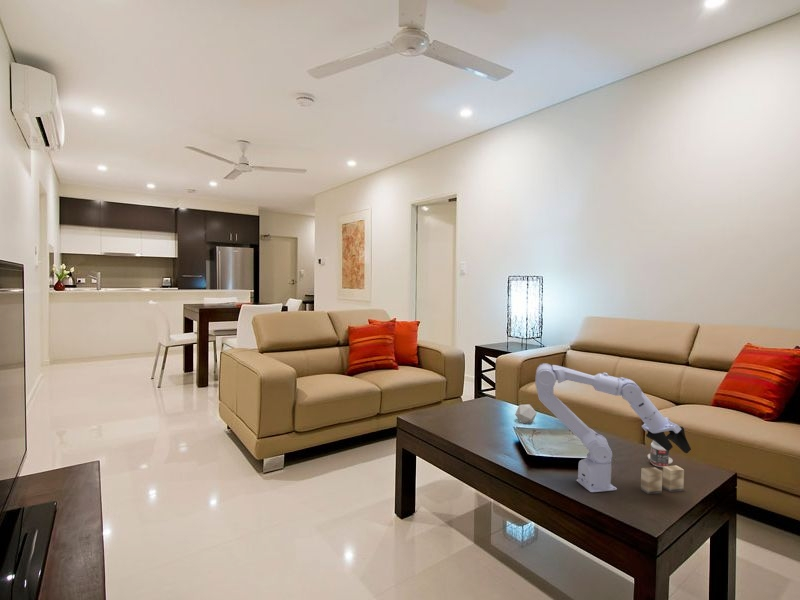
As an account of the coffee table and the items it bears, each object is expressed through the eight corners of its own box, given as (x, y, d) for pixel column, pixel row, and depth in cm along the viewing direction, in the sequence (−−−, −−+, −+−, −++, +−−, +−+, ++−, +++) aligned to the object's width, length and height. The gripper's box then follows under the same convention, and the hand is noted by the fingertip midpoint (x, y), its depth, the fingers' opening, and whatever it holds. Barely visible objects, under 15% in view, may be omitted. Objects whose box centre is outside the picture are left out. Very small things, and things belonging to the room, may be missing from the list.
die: (535, 428, 189) (542, 408, 193) (518, 418, 189) (525, 398, 193) (526, 428, 197) (532, 409, 201) (509, 419, 197) (517, 400, 201)
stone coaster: (659, 464, 151) (659, 463, 151) (642, 455, 159) (642, 454, 158) (677, 463, 152) (678, 461, 152) (660, 454, 160) (660, 452, 160)
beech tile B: (669, 492, 131) (670, 470, 131) (662, 487, 134) (663, 466, 134) (683, 490, 132) (684, 469, 132) (675, 486, 135) (676, 465, 135)
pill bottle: (659, 469, 147) (660, 443, 146) (646, 461, 153) (647, 436, 151) (672, 466, 149) (673, 440, 147) (658, 458, 154) (659, 433, 153)
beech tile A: (647, 494, 130) (648, 472, 130) (640, 489, 133) (641, 468, 133) (661, 492, 131) (662, 471, 130) (654, 488, 134) (655, 467, 133)
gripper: (673, 405, 123) (705, 443, 121) (642, 406, 137) (670, 440, 135) (657, 419, 122) (690, 458, 120) (627, 419, 136) (656, 454, 134)
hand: (678, 450), depth 127 cm, fingers open, 7 cm apart
